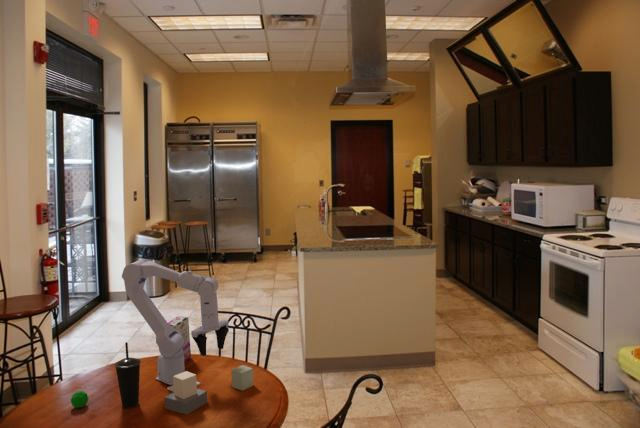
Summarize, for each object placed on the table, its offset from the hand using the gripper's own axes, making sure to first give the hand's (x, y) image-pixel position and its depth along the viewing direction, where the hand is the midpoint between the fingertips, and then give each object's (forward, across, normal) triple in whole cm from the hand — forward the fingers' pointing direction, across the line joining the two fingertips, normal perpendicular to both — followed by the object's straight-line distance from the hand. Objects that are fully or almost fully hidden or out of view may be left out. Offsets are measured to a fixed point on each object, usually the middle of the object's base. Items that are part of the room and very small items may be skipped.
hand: (211, 351), depth 179 cm
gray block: (+10, -18, -9) cm, 22 cm away
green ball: (+10, -38, +18) cm, 43 cm away
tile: (+10, -10, +3) cm, 14 cm away
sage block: (+10, +2, -12) cm, 16 cm away
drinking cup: (+10, -28, +6) cm, 30 cm away
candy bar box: (+10, +2, +24) cm, 26 cm away
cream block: (+6, -18, -9) cm, 21 cm away
